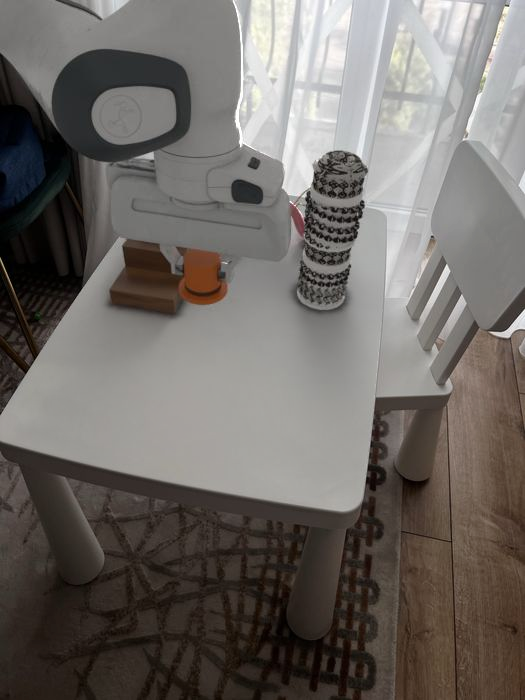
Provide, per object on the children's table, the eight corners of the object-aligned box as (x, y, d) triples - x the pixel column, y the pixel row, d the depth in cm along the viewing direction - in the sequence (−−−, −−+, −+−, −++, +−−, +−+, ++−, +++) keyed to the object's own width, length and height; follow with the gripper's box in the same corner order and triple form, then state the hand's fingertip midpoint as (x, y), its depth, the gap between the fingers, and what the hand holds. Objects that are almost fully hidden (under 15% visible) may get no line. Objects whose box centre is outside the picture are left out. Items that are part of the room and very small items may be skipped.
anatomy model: (250, 202, 110) (304, 156, 101) (295, 248, 115) (350, 208, 106) (238, 227, 103) (294, 180, 93) (286, 275, 108) (344, 235, 98)
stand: (174, 314, 88) (169, 258, 81) (111, 303, 90) (101, 248, 82) (208, 246, 103) (206, 193, 96) (153, 238, 104) (147, 185, 97)
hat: (199, 311, 63) (197, 279, 59) (169, 288, 66) (165, 255, 62) (237, 291, 66) (238, 259, 63) (206, 269, 69) (205, 237, 66)
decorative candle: (291, 307, 91) (307, 168, 74) (297, 276, 98) (312, 141, 80) (345, 315, 90) (373, 175, 73) (347, 282, 97) (373, 147, 79)
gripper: (90, 166, 54) (111, 277, 63) (289, 194, 51) (280, 305, 61) (114, 141, 58) (131, 248, 68) (299, 166, 56) (289, 273, 65)
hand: (202, 275), depth 64 cm, fingers closed on hat, 4 cm apart
